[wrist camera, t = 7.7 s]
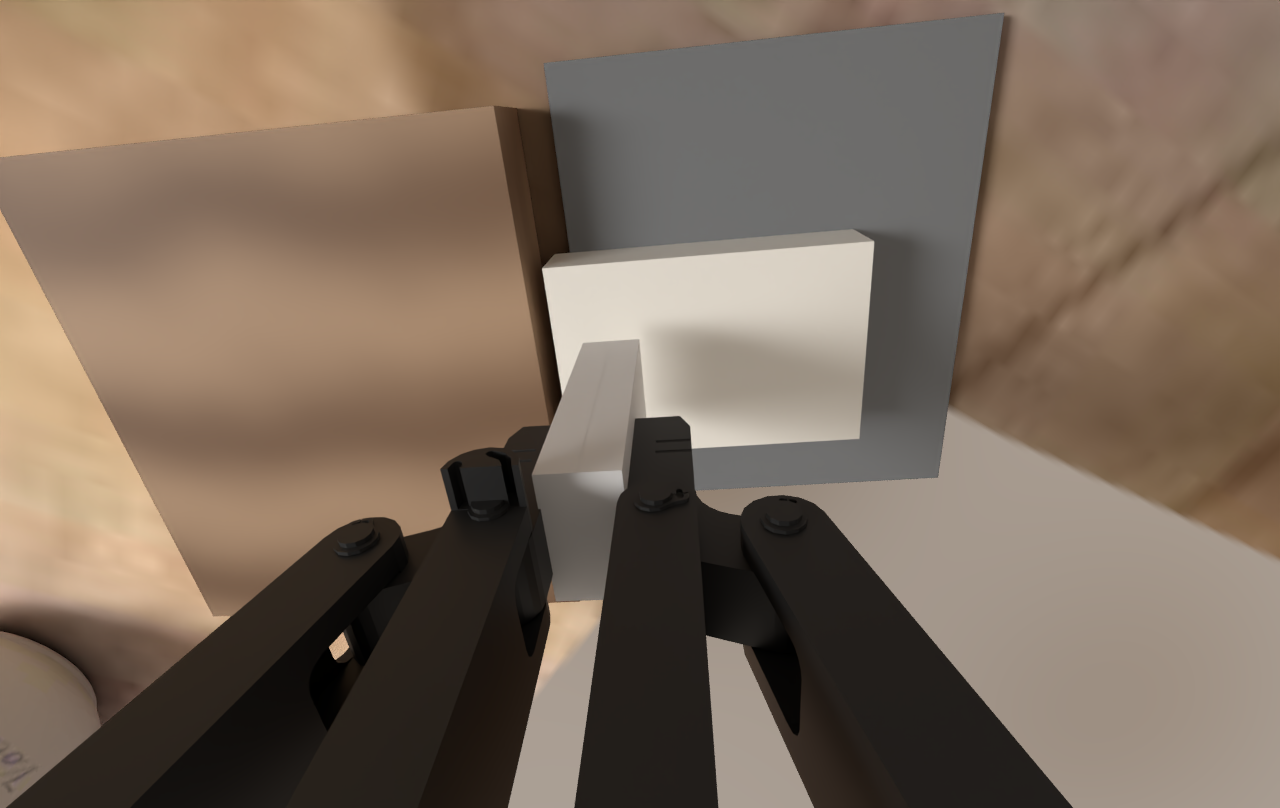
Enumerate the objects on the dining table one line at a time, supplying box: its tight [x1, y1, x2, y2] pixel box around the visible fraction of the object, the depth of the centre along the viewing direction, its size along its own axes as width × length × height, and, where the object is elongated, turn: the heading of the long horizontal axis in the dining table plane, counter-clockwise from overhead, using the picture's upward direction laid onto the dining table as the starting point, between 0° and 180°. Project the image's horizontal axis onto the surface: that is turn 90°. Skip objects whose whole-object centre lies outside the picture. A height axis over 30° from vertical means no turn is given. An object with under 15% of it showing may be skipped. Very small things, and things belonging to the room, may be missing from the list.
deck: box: [0, 106, 577, 616], centre depth 20 cm, size 16×14×2 cm
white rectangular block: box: [542, 229, 874, 449], centre depth 18 cm, size 6×9×2 cm, turn 95°
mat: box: [544, 13, 1004, 491], centre depth 19 cm, size 14×12×1 cm
